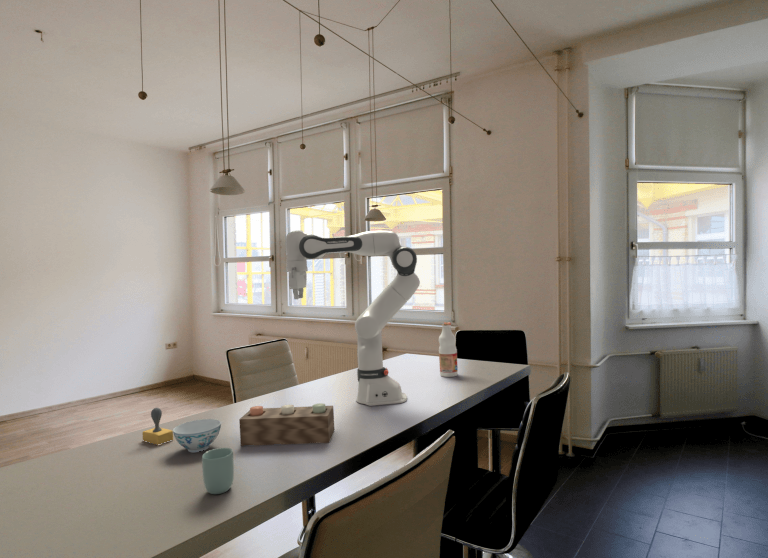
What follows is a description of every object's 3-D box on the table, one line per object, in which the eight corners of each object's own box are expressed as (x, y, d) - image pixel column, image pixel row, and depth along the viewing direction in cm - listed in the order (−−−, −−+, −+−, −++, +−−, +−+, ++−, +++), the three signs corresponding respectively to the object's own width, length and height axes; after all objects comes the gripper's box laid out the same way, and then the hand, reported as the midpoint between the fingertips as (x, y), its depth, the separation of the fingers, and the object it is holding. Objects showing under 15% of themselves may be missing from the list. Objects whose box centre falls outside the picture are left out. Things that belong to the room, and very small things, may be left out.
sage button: (326, 412, 159) (326, 403, 159) (324, 416, 155) (324, 406, 155) (314, 413, 160) (313, 403, 160) (311, 417, 155) (311, 407, 155)
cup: (208, 485, 124) (206, 449, 124) (238, 482, 125) (236, 446, 124) (199, 499, 116) (197, 460, 116) (230, 496, 117) (228, 457, 117)
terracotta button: (265, 415, 160) (264, 405, 160) (261, 419, 156) (260, 409, 156) (252, 415, 161) (252, 406, 161) (248, 419, 156) (248, 409, 156)
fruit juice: (437, 374, 245) (435, 322, 244) (454, 372, 246) (451, 321, 246) (443, 378, 235) (440, 324, 235) (460, 376, 237) (457, 323, 237)
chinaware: (175, 461, 142) (173, 437, 142) (173, 446, 155) (171, 424, 155) (225, 450, 149) (224, 427, 149) (219, 437, 162) (217, 415, 162)
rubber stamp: (142, 441, 162) (140, 408, 162) (157, 436, 167) (156, 404, 167) (158, 446, 157) (156, 411, 157) (173, 440, 162) (172, 407, 162)
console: (334, 430, 163) (333, 405, 163) (329, 442, 151) (327, 415, 151) (252, 433, 165) (251, 408, 164) (240, 445, 153) (239, 419, 152)
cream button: (295, 414, 160) (295, 404, 160) (292, 417, 156) (292, 408, 155) (283, 414, 160) (283, 404, 160) (280, 418, 156) (279, 408, 156)
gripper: (299, 266, 190) (301, 299, 190) (308, 267, 210) (309, 297, 210) (284, 267, 190) (286, 300, 190) (294, 268, 210) (296, 298, 211)
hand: (298, 298), depth 200 cm, fingers open, 8 cm apart
